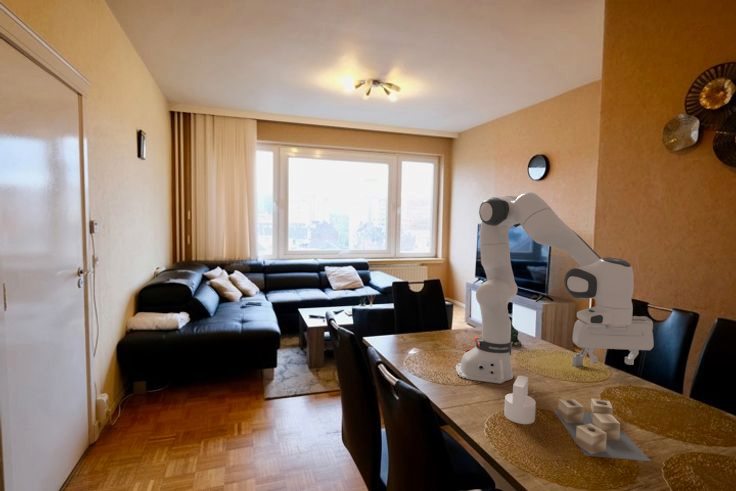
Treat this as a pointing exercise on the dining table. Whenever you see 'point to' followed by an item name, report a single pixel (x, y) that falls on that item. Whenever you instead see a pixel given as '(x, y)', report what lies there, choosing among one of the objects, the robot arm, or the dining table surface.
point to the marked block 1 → (571, 411)
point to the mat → (608, 442)
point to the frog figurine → (514, 337)
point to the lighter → (579, 358)
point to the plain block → (607, 425)
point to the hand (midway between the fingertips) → (611, 363)
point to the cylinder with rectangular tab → (520, 403)
